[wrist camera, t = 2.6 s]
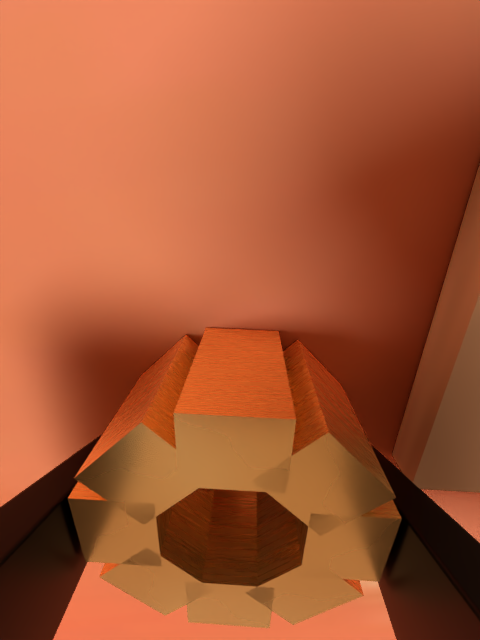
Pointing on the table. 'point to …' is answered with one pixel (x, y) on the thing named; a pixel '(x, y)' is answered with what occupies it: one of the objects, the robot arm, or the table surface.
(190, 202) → the table surface
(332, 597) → the brass gear
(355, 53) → the table surface
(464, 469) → the gear board
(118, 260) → the table surface
